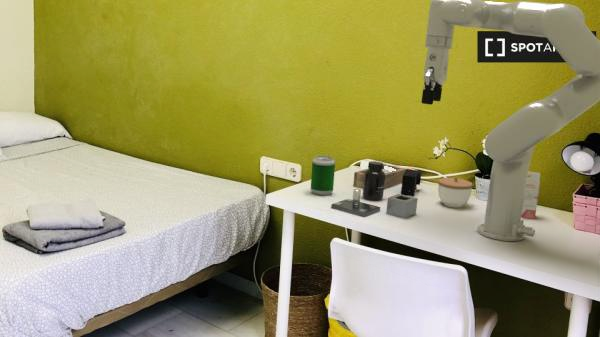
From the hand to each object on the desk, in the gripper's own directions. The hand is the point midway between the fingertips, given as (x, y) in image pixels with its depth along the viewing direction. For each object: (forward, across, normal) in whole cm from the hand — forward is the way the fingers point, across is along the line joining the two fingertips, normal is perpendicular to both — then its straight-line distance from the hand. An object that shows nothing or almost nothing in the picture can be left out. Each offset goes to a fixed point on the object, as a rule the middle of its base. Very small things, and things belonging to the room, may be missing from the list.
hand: (431, 102), depth 177 cm
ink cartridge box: (+34, +18, -29) cm, 48 cm away
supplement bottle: (+35, +8, +17) cm, 39 cm away
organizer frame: (+35, +27, +21) cm, 49 cm away
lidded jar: (+34, +16, -8) cm, 39 cm away
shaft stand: (+35, -8, +17) cm, 39 cm away
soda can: (+35, +3, +33) cm, 49 cm away
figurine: (+35, +26, +20) cm, 48 cm away
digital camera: (+35, +23, +8) cm, 43 cm away
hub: (+34, -4, +4) cm, 35 cm away
